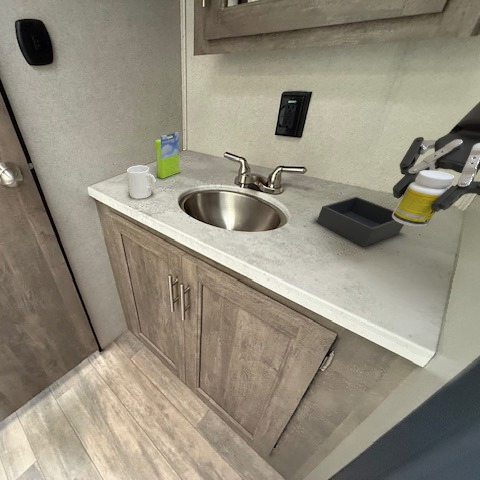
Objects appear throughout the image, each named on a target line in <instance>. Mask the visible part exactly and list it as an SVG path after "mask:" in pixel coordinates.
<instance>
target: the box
mask: <svg viewBox="0 0 480 480" xmlns="http://www.w3.org/2000/svg"><path fill="white" fill-rule="evenodd" d="M179 134H180V132H179V131H176V132H173V133H169V134H163V135H160V139H155V140H154V143H155V144H154V145H155V157H156V170H157V177H158V178H160V179H165V178H167V177H170V176H171V177H172V176H173V175H176V174H179V173H180V147H179V146H180V145H179V143H180V142H179V140H180V137H179V136H180V135H179Z"/></svg>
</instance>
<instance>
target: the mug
mask: <svg viewBox="0 0 480 480" xmlns="http://www.w3.org/2000/svg"><path fill="white" fill-rule="evenodd" d="M150 171H151V169H150V167H149V166H147V165H144V164H143V165H142V164H141V165H133V166H130V167H128V168H126V176H127V182H128V189H129V195H130V197H131V198H132V199H137V200H138V199H139V200H140V199H141V200H142V199H146V198H148V197H150V196H151V195H152V189H153V188H155V186H156V183H157V180H156V177H155V176H154V175H153V174H152V173H151V172H150ZM151 180H152V181H151ZM151 182H152V183H151Z"/></svg>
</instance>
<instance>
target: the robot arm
mask: <svg viewBox="0 0 480 480" xmlns="http://www.w3.org/2000/svg"><path fill="white" fill-rule="evenodd" d="M432 149H434V152H432V153H431V154H429V155H427V156H426V157H425V158H423V160H422V161H420V162H419V163H417V161H418V160H419V158H420V156H423V155H425V154H426V153H427V152H428V151H430V150H432ZM416 163H417V164H416ZM441 169H442V170H449V171H454V172H456V173H458V174H461V175H460V177H459V178H458V181H457V183H456V184H455V185H453V184H451V185H450V186H449V187H448V190H447V191H446V192H444V193H443V194H442V195H441V196H440V197H439V198H438V199H437V200H436V201H435V202H434V203H433V204H432V206H431V209H432V210H433V211H436V212H435V213H438V212H440V211H441V210H442V211H446V210H448V209H450V208H451V207H452V206H453V205H455V204H456V202H457V201H459V200H460V199H461V198H462V197H463V196H465V195H469V194H472V195H473V194H476V195H477V196H479V197H480V181H479V180H478V181H476V178H477V176H478V174H479V172H480V101H479V102H478V103H476V104H475V105H474V107H472V108H471V109H470V110H469V111H468V112H467V114H465V115H464V116H463V118H461V119H460V120H459V121H458V122H457V123H456V124H455V125H454V126H453V128H451V129H450V131H449V132H448V133H447V134H444V135H443V136H441V137H438V138H437V139H436V140H435V139H434V140H433V139H432V140H431V139H430V140H429V139H426V140H425V138H424V137H423V136H418V137H416V138H414V140H413V141H412V143H411V145H410V146H409V147H408V149H407V150H406V153H405V154H404V156H403V158H402V159H401V161H400V163H399V170H400V174H401V175H404V176H403V177H401V178H400V179H399V181H398V182H396V183H395V185H393V187H392V195H393V198H396V199H401V198H402V196H403V195H404V193H405V191H406V189H407V187H408V186H409V185H410V184H411V183H412V182H415V179H416V177H417V176H418V174H419V172H420V171H424V170H434V171H440V170H441Z"/></svg>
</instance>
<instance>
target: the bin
mask: <svg viewBox="0 0 480 480" xmlns="http://www.w3.org/2000/svg"><path fill="white" fill-rule="evenodd" d="M393 212H394V210H393V209H390V208H388V207H385V206H383V205H380V204H377V203H375V202H372V201H370V200H366V199H364V198H362V197H359V196H353V197H349V198H346V199H343V200H340V201H336V202H333V203H328V204H326V205H322V207H321V209H320V212H319V214H318V217H317V220H316V223H318V224H319V225H321V226H323V227H324V228H327V229H329V230H331V231H333V232H335V233H336V234H338V235H340V236H342V237H344V238H346V239H348V240H350V241H351V242H353V243H355V244H357V245H359V246H361V247H363V248H364V247H367V246H369V245H372V244H375V243H377V242H380V241H383V240H385V239H388V238H390V237H393V236H396V235H398V234H400V232H401V231H402V229H403V227H404V226H405V225H404V224H401V223H399V222H397V221H395V220H394V219H393V217H392V214H393Z"/></svg>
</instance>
